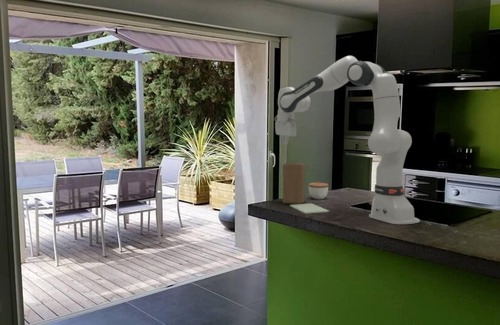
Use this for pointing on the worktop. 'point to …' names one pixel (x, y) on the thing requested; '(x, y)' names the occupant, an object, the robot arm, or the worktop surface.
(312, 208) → the mat
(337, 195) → the worktop surface
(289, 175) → the wooden block
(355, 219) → the worktop surface
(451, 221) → the worktop surface
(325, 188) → the lidded jar
